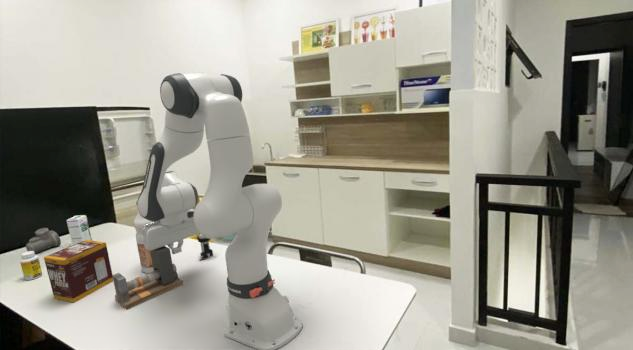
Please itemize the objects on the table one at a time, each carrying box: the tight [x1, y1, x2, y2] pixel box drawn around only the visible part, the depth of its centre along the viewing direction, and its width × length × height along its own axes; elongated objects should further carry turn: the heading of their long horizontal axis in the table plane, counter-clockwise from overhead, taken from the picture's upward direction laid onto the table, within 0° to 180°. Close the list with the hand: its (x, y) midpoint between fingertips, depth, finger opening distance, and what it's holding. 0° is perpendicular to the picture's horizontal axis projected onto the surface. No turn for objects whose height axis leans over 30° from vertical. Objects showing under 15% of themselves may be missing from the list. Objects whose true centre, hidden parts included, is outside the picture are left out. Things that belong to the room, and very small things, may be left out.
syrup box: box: [66, 214, 93, 245], centre depth 165 cm, size 6×6×14 cm
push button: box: [196, 234, 214, 261], centre depth 144 cm, size 7×5×10 cm
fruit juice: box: [133, 199, 154, 274], centre depth 136 cm, size 9×9×28 cm
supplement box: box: [43, 240, 114, 303], centre depth 124 cm, size 10×15×16 cm
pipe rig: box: [112, 263, 184, 311], centre depth 120 cm, size 10×19×10 cm, turn 138°
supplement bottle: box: [19, 251, 43, 281], centre depth 136 cm, size 6×6×10 cm
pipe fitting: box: [25, 227, 62, 255], centre depth 164 cm, size 12×8×10 cm, turn 151°
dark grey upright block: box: [150, 245, 175, 285], centre depth 123 cm, size 7×4×12 cm, turn 48°
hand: (176, 252), depth 127 cm, fingers closed
